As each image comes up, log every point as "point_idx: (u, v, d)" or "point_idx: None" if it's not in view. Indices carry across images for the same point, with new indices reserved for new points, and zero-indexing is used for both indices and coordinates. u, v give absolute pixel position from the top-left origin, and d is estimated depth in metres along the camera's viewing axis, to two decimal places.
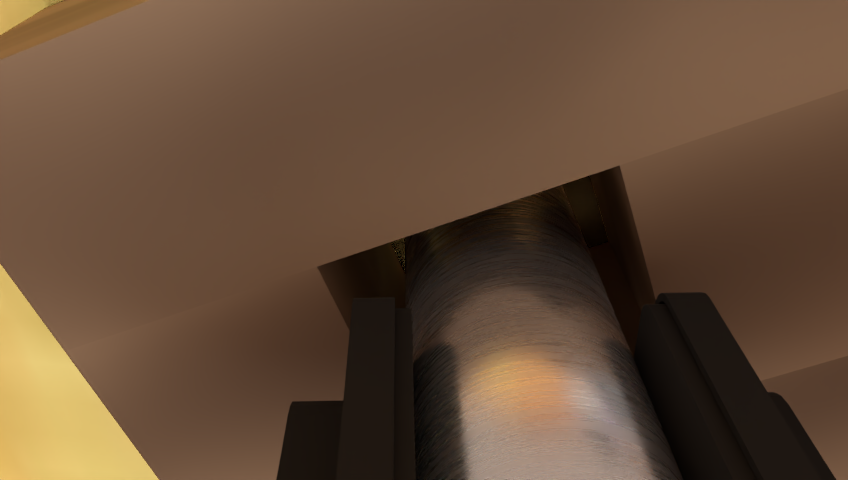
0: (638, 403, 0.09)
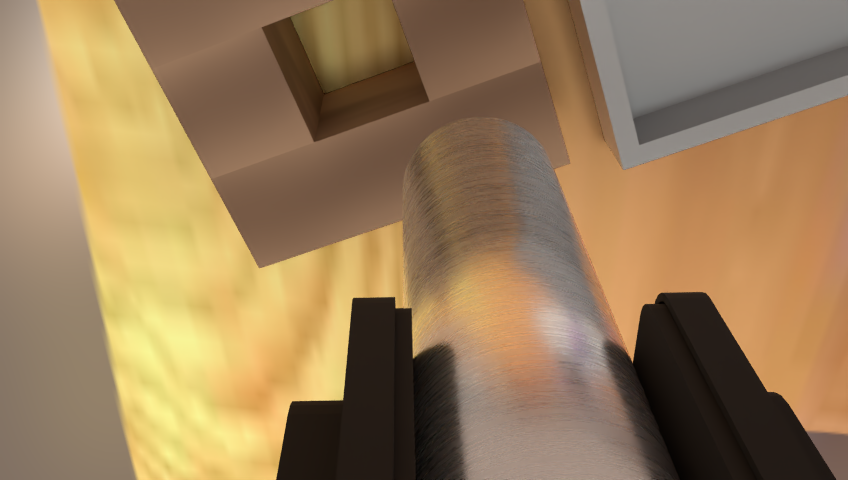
0: (635, 404, 0.09)
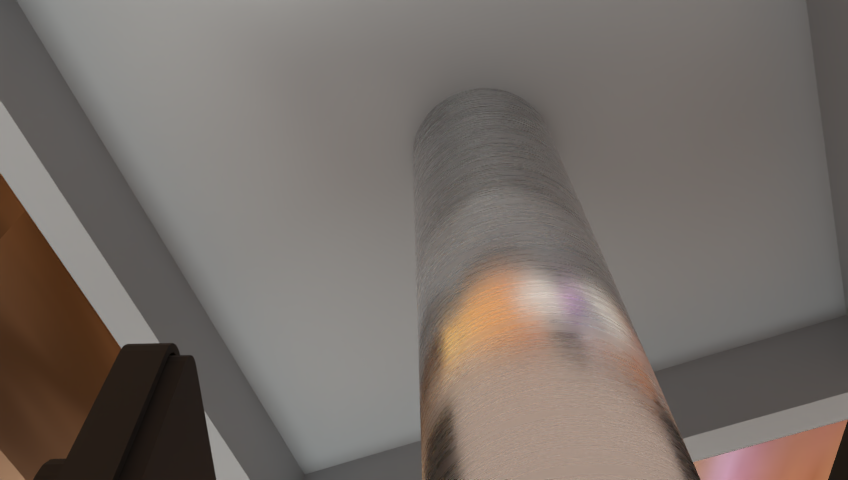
0: (619, 317, 0.10)
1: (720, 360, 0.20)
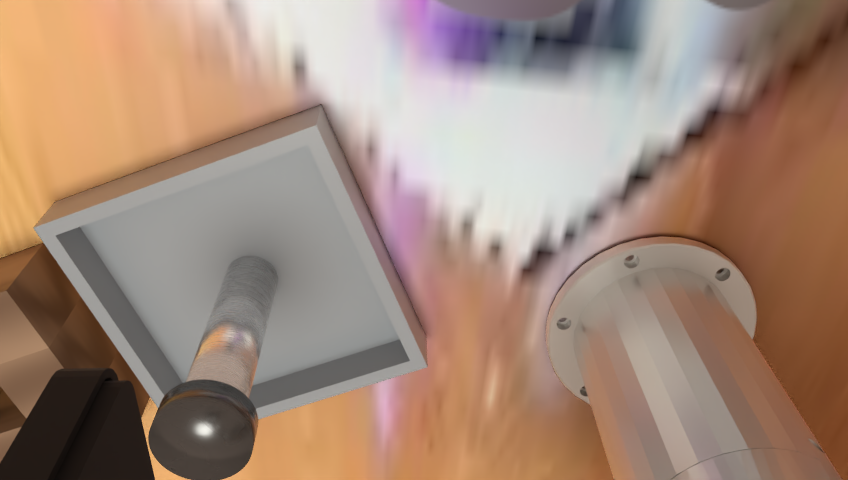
0: (244, 341, 0.39)
1: (360, 354, 0.49)
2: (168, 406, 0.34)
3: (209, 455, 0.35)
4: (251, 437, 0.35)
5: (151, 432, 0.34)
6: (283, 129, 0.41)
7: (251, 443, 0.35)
